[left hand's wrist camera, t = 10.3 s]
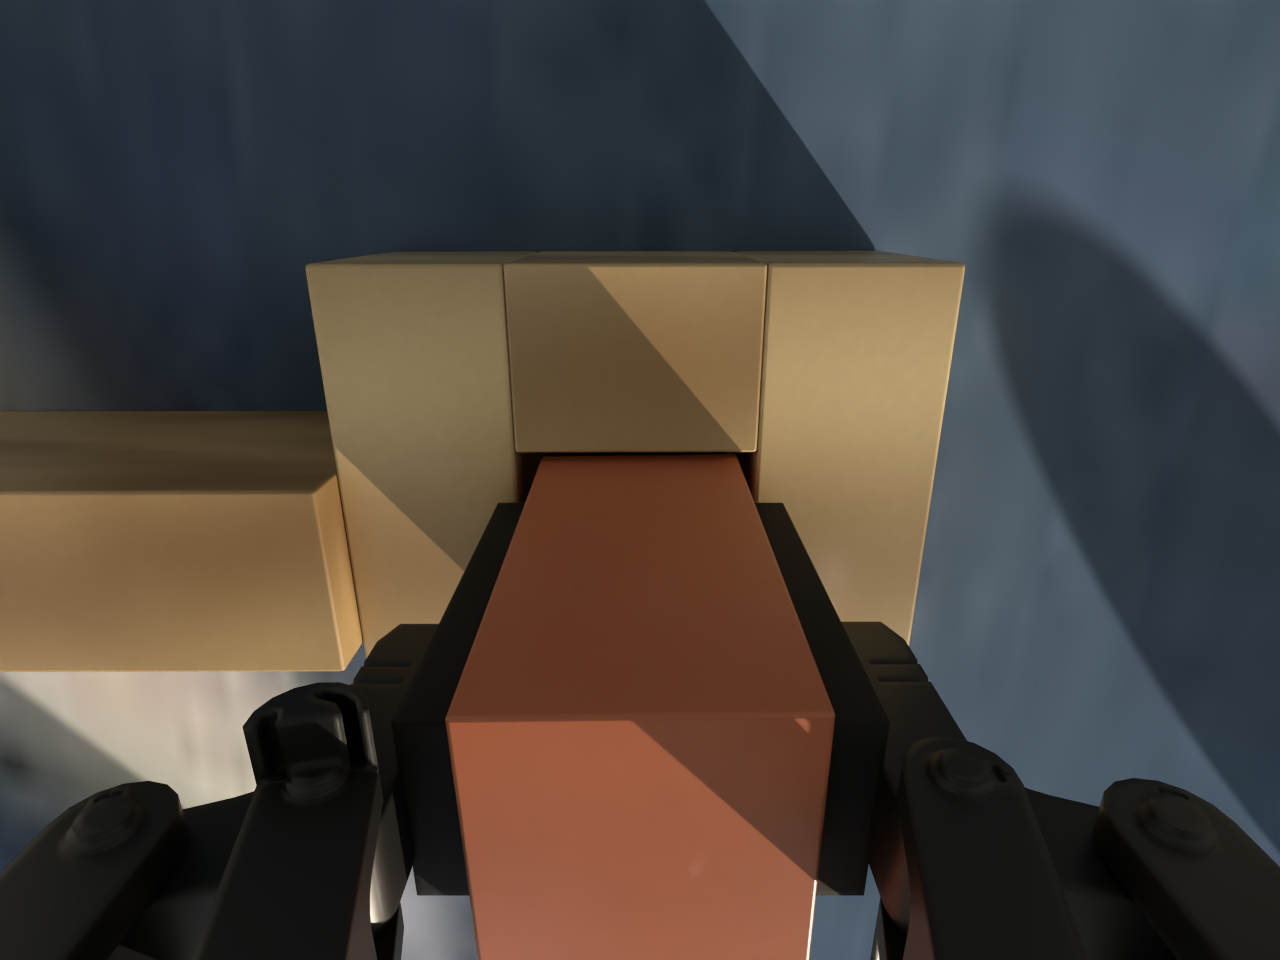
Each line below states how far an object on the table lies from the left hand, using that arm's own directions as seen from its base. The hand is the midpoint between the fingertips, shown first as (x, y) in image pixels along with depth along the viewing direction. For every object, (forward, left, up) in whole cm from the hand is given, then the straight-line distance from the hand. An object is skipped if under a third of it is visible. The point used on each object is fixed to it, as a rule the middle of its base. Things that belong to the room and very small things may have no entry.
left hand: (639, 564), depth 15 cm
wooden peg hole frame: (0, +7, -5) cm, 9 cm away
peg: (0, 0, -1) cm, 1 cm away
